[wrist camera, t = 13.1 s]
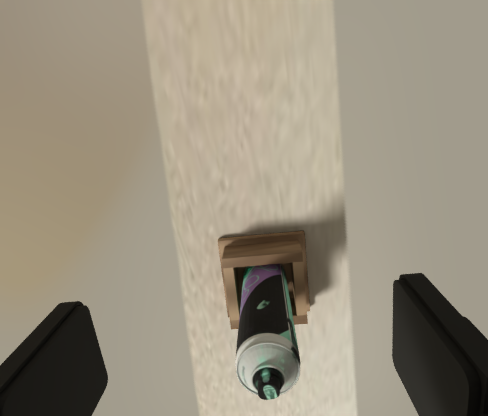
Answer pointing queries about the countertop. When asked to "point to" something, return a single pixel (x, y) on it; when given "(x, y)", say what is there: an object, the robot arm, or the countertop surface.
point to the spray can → (266, 333)
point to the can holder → (264, 253)
